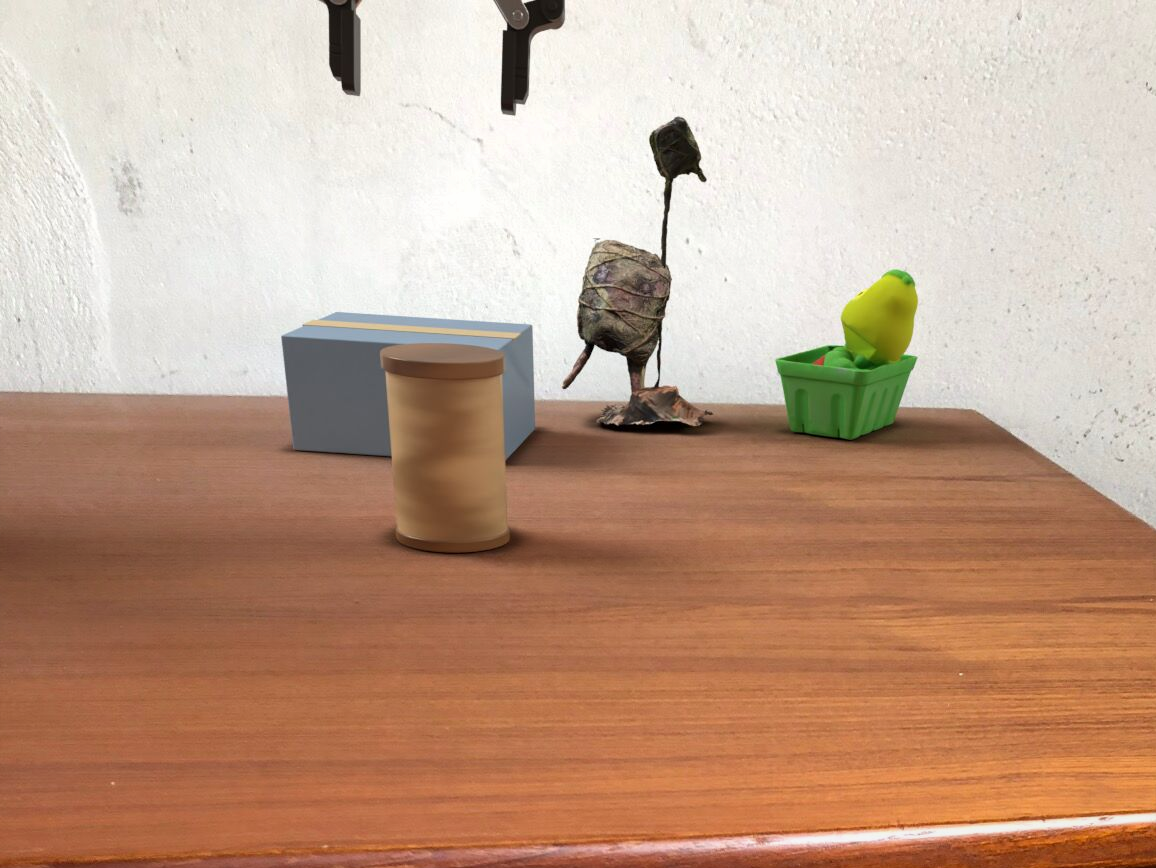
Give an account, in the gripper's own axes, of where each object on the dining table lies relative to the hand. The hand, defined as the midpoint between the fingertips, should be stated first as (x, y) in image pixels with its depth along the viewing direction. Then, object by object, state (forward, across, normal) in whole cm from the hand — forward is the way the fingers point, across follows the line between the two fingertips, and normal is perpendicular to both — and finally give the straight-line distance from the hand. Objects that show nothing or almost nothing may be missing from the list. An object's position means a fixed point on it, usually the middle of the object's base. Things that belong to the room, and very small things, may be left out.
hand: (429, 103), depth 83 cm
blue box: (+18, +2, -16) cm, 25 cm away
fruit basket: (+15, -29, -26) cm, 42 cm away
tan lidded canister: (+22, -3, +9) cm, 24 cm away
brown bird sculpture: (+16, -13, -26) cm, 33 cm away
